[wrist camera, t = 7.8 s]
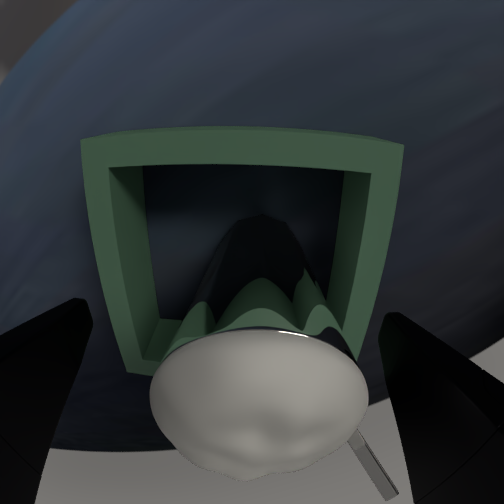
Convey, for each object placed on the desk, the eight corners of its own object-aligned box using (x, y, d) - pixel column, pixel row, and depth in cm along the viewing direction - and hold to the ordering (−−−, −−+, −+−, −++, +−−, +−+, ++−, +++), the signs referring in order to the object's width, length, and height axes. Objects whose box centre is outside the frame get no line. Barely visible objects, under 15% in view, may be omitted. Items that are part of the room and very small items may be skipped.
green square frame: (371, 136, 11) (404, 145, 8) (336, 340, 15) (348, 383, 12) (119, 131, 11) (80, 139, 8) (145, 331, 15) (127, 372, 12)
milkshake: (304, 312, 14) (336, 525, 5) (194, 277, 14) (123, 498, 5) (348, 228, 12) (471, 444, 3) (225, 182, 12) (126, 405, 3)
